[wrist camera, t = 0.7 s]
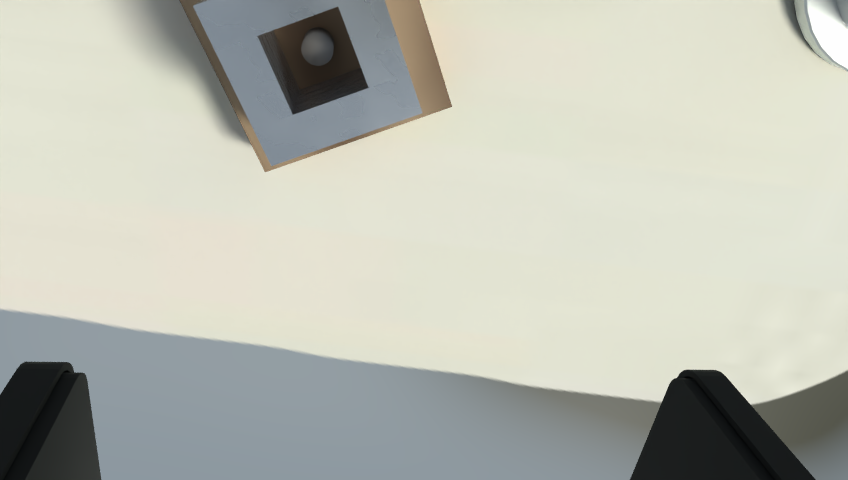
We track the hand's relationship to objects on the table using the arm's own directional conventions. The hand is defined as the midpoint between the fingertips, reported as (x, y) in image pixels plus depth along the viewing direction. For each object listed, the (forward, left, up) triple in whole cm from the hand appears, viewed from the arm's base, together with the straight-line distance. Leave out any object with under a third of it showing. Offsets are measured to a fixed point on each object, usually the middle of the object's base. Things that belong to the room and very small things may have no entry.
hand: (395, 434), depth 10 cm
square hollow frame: (+1, -2, -23) cm, 23 cm away
